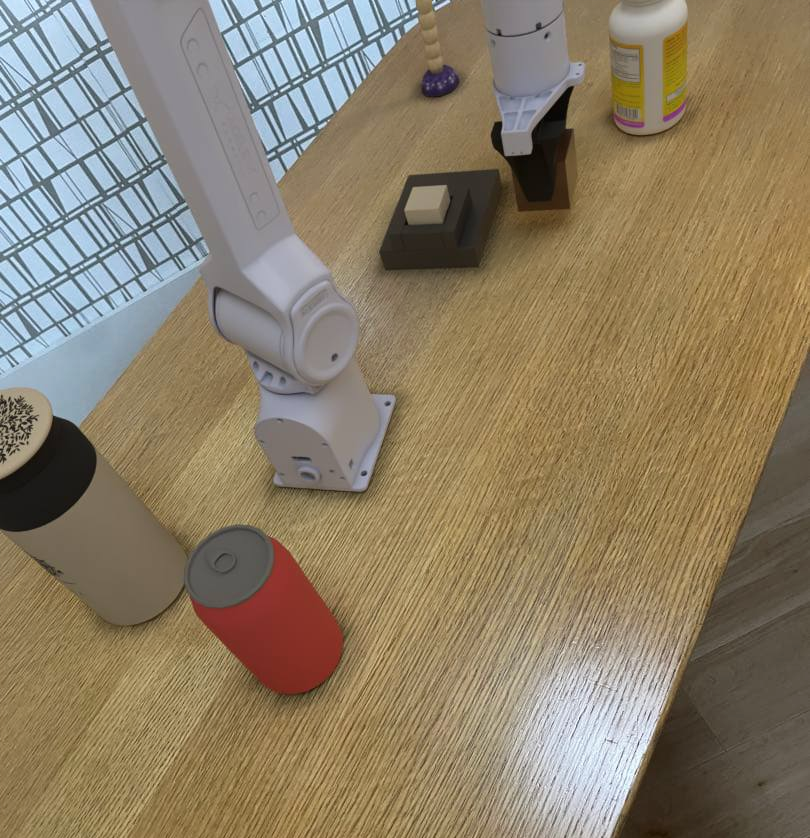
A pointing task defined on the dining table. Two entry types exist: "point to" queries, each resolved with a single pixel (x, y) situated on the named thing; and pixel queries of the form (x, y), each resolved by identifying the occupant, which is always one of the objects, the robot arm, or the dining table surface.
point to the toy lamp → (434, 55)
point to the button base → (444, 223)
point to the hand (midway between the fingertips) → (544, 180)
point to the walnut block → (563, 178)
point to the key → (427, 205)
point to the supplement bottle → (648, 64)
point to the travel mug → (81, 515)
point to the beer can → (263, 608)
